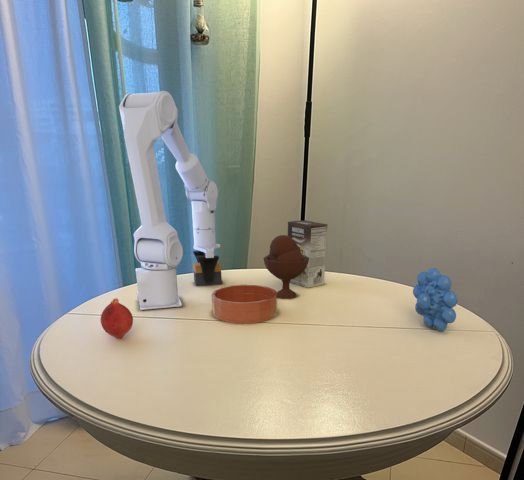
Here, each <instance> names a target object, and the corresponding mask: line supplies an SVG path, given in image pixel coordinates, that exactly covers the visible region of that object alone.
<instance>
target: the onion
mask: <svg viewBox="0 0 524 480" xmlns="http://www.w3.org/2000/svg"><path fill="white" fill-rule="evenodd" d="M119 301H120V300H119V299H118V298H117V297H114V298H112V300H111V301H110V303H109V304H108V305H106V307H105V308H104V309H103V311H102V312H101V314H100V325H101V328H102V329H103V330H104V331H105V333H106V334H108V335H109V336H111V337H113V338H116V339H123V338H124V336H125V335H126V334H127V333H128V332H130V330H131V329H132V328H133V324H134V317H133V313H132V312H131V310H130V309H129V308H128V307H127V306H126V305H124V304H122V303H120V302H119Z"/></svg>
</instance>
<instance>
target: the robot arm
mask: <svg viewBox="0 0 524 480" xmlns="http://www.w3.org/2000/svg"><path fill="white" fill-rule="evenodd" d="M118 109H119V115H120V119H121V125H122V130H123V134H124V136H123V138H124V144H125V147H126V153H127V158H128V162H129V168H130V174H131V178H132V182H133V189H134V193H135V197H136V204H137V208H138V212H139V218H140V222H141V225H140V226H139V227H138V228H137V229H136V230H135V231H134V233H133V239H134V244H133V254H134V257H135V259H136V260H137V262H139V263H140V267H138V268H137V267H136V268H135V276H136V277H135V278H136V286H137V292H136V297H137V298H136V299H137V301H138V302H139V310H141V311H145V310H156V309H167V308H179V307H182V306H183V304H182V300H181V298H180V296H179V290H178V288H179V287H178V277H177V267H179V264H180V263H181V261H182V259H183V255H184V249H183V245H182V242H181V241H180V239H179V236H178V235H179V234H178V231H177V230H176V229H175V228H174V227H173V226H172V225H171V224H170V223H168V222H167V217H166V216H167V215H166V211H165V210H166V209H165V204H164V200H163V193H162V187H161V183H160V182H161V181H160V176H159V169H158V165H157V157H156V152H155V144H156V142H157V140H158V139H159V138H161V140H162V141H163V143H164V144H165V146H166V147H167V149H168V150H169V151H170V153H171V154H172V155H173V157H174V159H175V160H176V163H175V170H176V172H177V173H178V175H179V177H180V178H181V180H182V181H183V183H184V184H183V187H184V189H185V196H186V199H187V200H188V201H189V202H190V203H191V215H192V216H191V217H192V231H193V251H192V253H193V255H194V257H195V259H196V263H200V265H201V268H202V273H203V278H204V281H205V282H213V278H214V271H215V267H216V264H217V262H219V259H220V256H219V255H215V250H216V249H219V248H221V244H220V243H217V238H216V218H215V217H216V216H215V210H217V202H218V201H217V200H218V197H219V190H218V187H217V184H216V182H214V180H212V179H209V178H208V177H209V176H208V175H207V174H206V172H205V170H204V167H203V166H202V164H201V161H200V160H199V158H198V156H197V154H195V153H191V152H190V150H189V148H188V145H187V143H186V141H185V138H184V136H183V134H182V132H181V129H180V126H179V124H178V117H179V110H178V107H177V106H176V102H175V100H174V98H173V96H172V95H171V93H170V92H168V91H166V90H161V91H155V92H142V93H132V92H131V93H130V92H129V93H127V94H125V95H124V97H123V99H122V100H121V102H120V104H119V105H118Z"/></svg>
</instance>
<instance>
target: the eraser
mask: <svg viewBox="0 0 524 480" xmlns="http://www.w3.org/2000/svg"><path fill="white" fill-rule="evenodd" d="M192 266H193V281H194V284H195V286H196V287H201V286H215V285H222V284H223V280H222V264H221V262H220V261H217V264H216V267H215V271H214V278H213V282H205V281H204V278H203V273H202V268H201V265H200V263H198V262H193V263H192Z"/></svg>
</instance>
